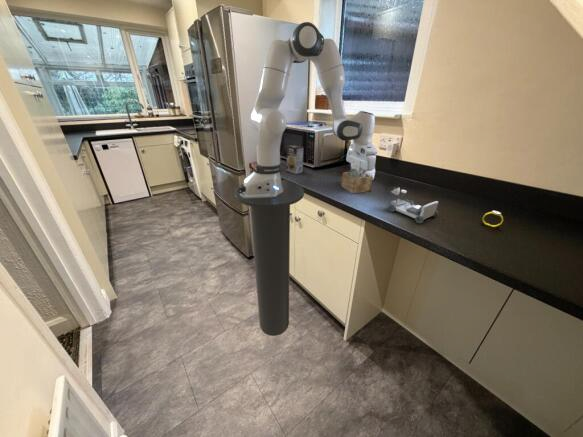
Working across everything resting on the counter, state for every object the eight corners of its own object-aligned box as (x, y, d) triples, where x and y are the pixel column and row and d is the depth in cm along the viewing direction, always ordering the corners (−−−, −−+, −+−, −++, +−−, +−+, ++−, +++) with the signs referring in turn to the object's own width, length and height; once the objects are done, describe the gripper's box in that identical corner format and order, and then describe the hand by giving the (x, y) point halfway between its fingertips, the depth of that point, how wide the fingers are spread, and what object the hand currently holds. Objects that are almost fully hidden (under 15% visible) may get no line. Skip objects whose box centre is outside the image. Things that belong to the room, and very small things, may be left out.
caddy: (352, 193, 119) (354, 178, 115) (341, 186, 128) (342, 172, 124) (370, 191, 122) (373, 176, 118) (358, 184, 131) (360, 170, 128)
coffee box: (286, 170, 152) (286, 145, 145) (293, 169, 156) (293, 144, 149) (295, 174, 146) (296, 148, 139) (302, 172, 150) (303, 146, 143)
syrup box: (363, 186, 124) (368, 158, 117) (356, 188, 121) (360, 160, 114) (355, 183, 128) (359, 156, 121) (347, 185, 125) (351, 158, 118)
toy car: (387, 187, 99) (403, 182, 105) (382, 207, 104) (398, 202, 110) (428, 201, 86) (444, 195, 92) (421, 224, 91) (436, 217, 97)
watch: (479, 224, 92) (485, 210, 89) (480, 221, 94) (486, 208, 91) (498, 229, 88) (505, 215, 85) (499, 226, 90) (506, 213, 87)
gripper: (345, 143, 123) (342, 169, 129) (368, 152, 106) (363, 181, 112) (355, 143, 124) (351, 168, 131) (379, 151, 107) (374, 179, 114)
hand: (357, 174), depth 121 cm, fingers closed on syrup box, 6 cm apart
